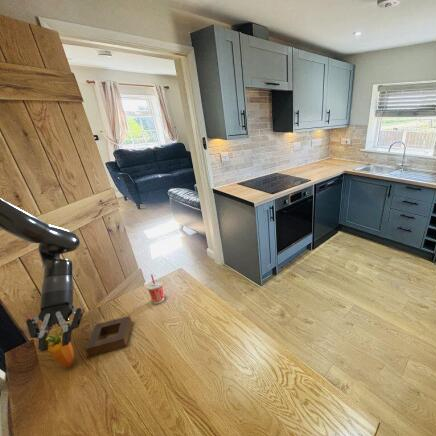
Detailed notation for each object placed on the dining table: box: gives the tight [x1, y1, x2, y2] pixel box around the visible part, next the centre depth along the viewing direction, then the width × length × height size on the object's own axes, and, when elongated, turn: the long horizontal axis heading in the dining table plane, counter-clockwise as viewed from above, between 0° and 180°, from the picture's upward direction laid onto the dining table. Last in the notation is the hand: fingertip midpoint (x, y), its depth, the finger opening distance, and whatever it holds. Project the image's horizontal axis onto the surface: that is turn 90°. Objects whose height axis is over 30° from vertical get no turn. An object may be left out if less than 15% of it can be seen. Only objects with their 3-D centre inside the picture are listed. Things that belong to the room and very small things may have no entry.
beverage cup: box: [145, 274, 165, 305], centre depth 103 cm, size 6×6×14 cm
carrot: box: [46, 329, 75, 368], centre depth 75 cm, size 5×5×15 cm
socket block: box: [85, 315, 133, 358], centre depth 87 cm, size 11×11×4 cm
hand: (55, 347), depth 72 cm, fingers closed on carrot, 4 cm apart
